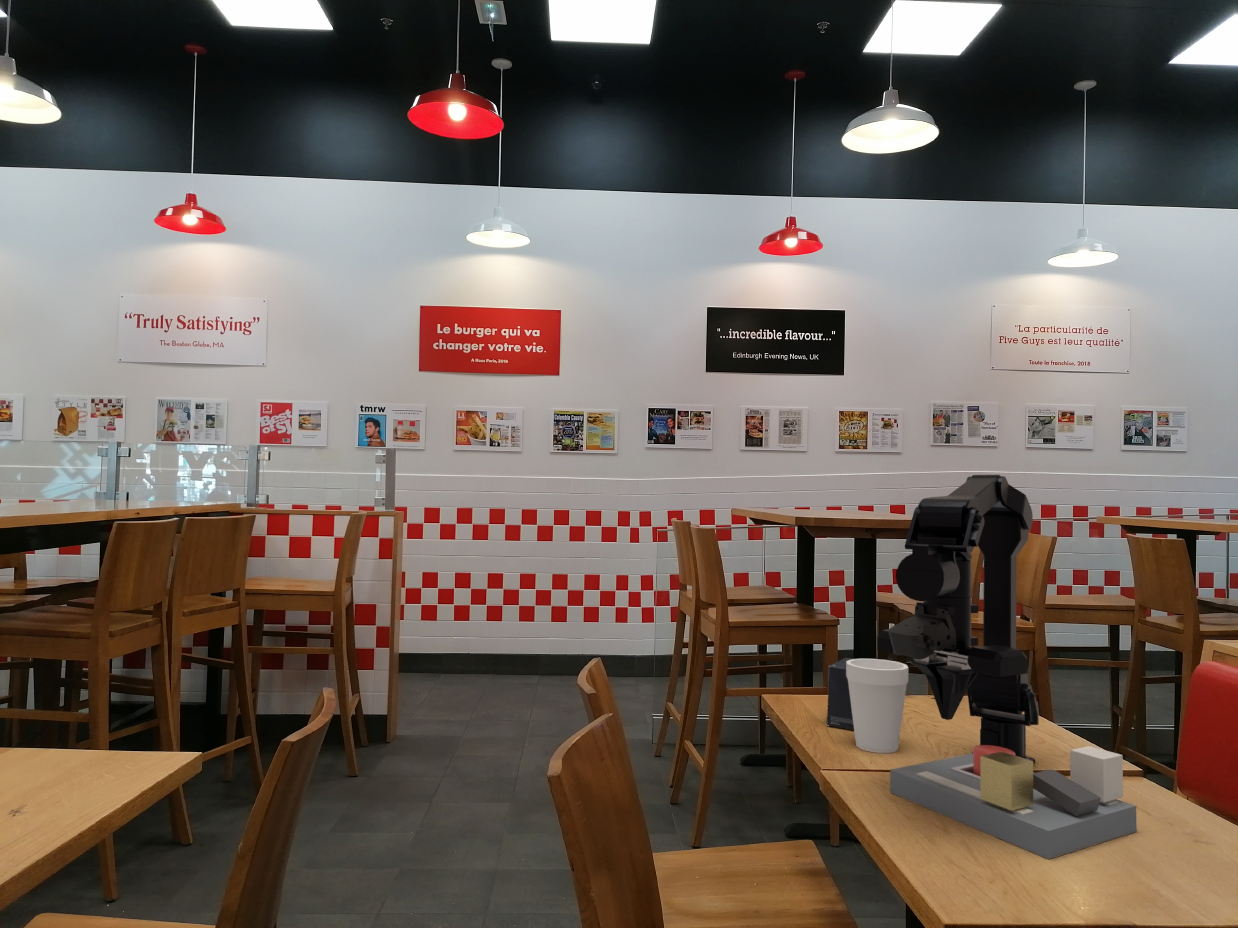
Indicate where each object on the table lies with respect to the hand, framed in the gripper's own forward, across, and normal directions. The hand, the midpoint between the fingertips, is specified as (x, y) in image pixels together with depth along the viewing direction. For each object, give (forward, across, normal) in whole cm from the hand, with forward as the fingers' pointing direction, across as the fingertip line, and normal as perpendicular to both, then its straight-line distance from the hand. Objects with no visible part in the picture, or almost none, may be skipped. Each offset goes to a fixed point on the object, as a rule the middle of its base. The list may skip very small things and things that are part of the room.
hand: (946, 718), depth 100 cm
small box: (+11, -35, +19) cm, 41 cm away
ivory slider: (+8, +11, +13) cm, 19 cm away
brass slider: (+8, +8, 0) cm, 11 cm away
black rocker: (+6, +11, +6) cm, 14 cm away
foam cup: (+11, -23, +12) cm, 28 cm away
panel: (+11, +4, +6) cm, 13 cm away
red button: (+11, 0, +9) cm, 14 cm away
